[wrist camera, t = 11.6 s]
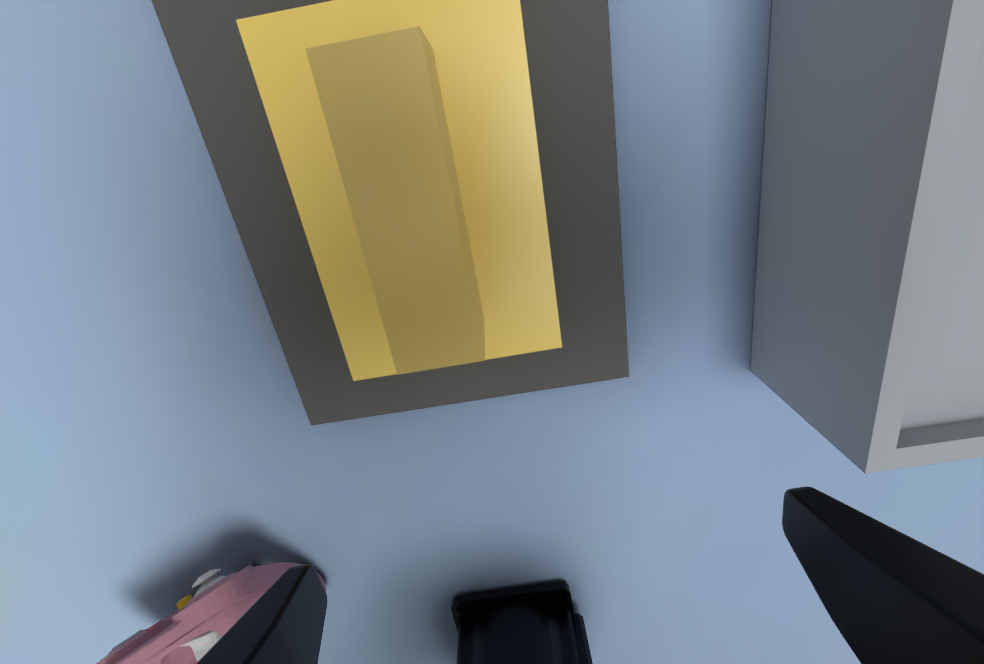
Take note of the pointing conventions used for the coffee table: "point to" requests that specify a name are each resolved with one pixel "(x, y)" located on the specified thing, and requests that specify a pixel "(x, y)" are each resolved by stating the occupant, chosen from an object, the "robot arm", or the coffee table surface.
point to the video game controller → (199, 618)
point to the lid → (413, 175)
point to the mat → (286, 252)
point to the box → (875, 227)
